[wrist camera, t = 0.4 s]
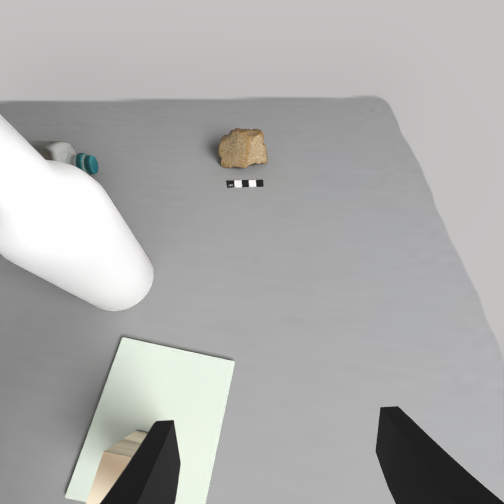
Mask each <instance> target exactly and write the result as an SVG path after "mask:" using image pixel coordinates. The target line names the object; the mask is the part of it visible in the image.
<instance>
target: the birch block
mask: <svg viewBox="0 0 504 504" xmlns="http://www.w3.org/2000/svg"><path fill="white" fill-rule="evenodd" d="M147 433H148V432H146V431H142V430H136V431H134V432H133V433H131V434H130V435H128V436H126V437H125V438H123V439H122V440H120V441H119V442H117V443H116V444H114V445H113V446H111V447H109V448H108V449H106V450H105V451H104V452H103V455H102V458H101V461H100V464H99V467H98V469H97V472H96V475H95V478H94V481H93V484H92V487H91V490H90V493H89V496H88V499H87V502H86V504H100V503H101V501H102V500H103V499H104V497H105V496H106V495H107V493H108V492H109V490H110V489H111V488H112V486H113V485H114V483H115V482H116V480H117V479H118V477H119V476H120V475H121V473H122V472H123V470H124V469H125V467H126V466H127V464H128V463H129V461H130V460H131V458H132V457H133V455H134V454H135V452H136V451H137V449H138V448H139V446H140V445H141V443H142V441H143V440H144V438H145V437H146V435H147Z"/></svg>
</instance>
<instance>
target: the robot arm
mask: <svg viewBox="0 0 504 504" xmlns="http://www.w3.org/2000/svg"><path fill="white" fill-rule="evenodd" d="M376 454H377V457H378V460H379V463H380V465H381V468H382V471H383V474H384V477H385V479H386V482H387V485H388V487H389V490H390V492H391V494H392V496H393V498H394V501H395V503H396V504H504V503H503V502H502V501H501V500H500V499H499V498H498V497H496V496H495V495H494V494H493V493H492V492H490V491H489V490H488V489H487V488H486V487H485V486H483V485H482V484H481V483H480V482H479V481H477V480H476V479H475V478H474V477H473V476H472V475H471V474H470V473H468V472H467V471H466V470H465V469H464V468H463V467H462V466H461V465H460V464H458V463H457V462H456V461H455V460H454V459H453V458H452V457H451V456H450V455H449V454H447V453H446V452H445V451H444V450H443V449H442V448H441V447H440V446H439V445H438V444H437V443H436V442H435V441H434V440H433V439H431V438H430V437H429V436H428V435H427V434H426V433H425V432H424V431H423V430H422V429H421V428H420V427H419V426H418V425H417V424H416V423H415V422H414V421H413V420H412V419H411V418H410V417H409V416H408V415H406V414H405V413H404V412H403V411H402V410H401V409H400V408H399V407H398V406H396V407H381V408H380V417H379V426H378V435H377V444H376ZM180 466H181V462H180V455H179V449H178V443H177V437H176V431H175V425H174V420H164V421H156V422H155V423H154V424H153V425H152V427H151V428H150V430H149V432H148V433H147V435H146V437H145V438H144V440H143V441H142V443H141V445H140V446H139V448H138V449H137V451H136V452H135V454H134V455H133V457H132V458H131V460H130V461H129V463H128V464H127V466H126V467H125V469H124V470H123V472H122V473H121V475H120V476H119V477H118V479H117V480H116V482H115V483H114V485H113V486H112V488H111V489H110V490H109V492H108V493H107V495H106V496H105V497H104V499H103V500H102V501H101V503H100V504H175V501H176V495H177V488H178V481H179V473H180Z"/></svg>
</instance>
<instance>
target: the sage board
mask: <svg viewBox="0 0 504 504" xmlns="http://www.w3.org/2000/svg"><path fill="white" fill-rule="evenodd" d="M234 364H235V361H230V360H226V359H221V358H216V357H212V356H207V355H203V354H198V353H193V352H189V351H184V350H179V349H175V348H170V347H166V346H161V345H156V344H152V343H147V342H143V341H138V340H133V339H129V338H124V337H122V340H121V343H120V345H119V348H118V351H117V354H116V356H115V359H114V362H113V365H112V368H111V370H110V373H109V376H108V379H107V381H106V384H105V387H104V390H103V393H102V395H101V398H100V401H99V404H98V406H97V409H96V412H95V415H94V418H93V420H92V423H91V426H90V429H89V432H88V434H87V437H86V440H85V443H84V445H83V448H82V451H81V454H80V457H79V459H78V462H77V465H76V468H75V470H74V473H73V476H72V479H71V482H70V484H69V487H68V490H67V493H66V495H65V498H68V499H73V500H78V501H82V502H87V499H88V496H89V493H90V490H91V487H92V484H93V481H94V478H95V475H96V472H97V469H98V467H99V464H100V461H101V458H102V455H103V452H104V451H105V450H106V449H108V448H109V447H111V446H113V445H114V444H116V443H117V442H119V441H120V440H122V439H123V438H125V437H126V436H128V435H130V434H131V433H133V432H134V431H136V430H142V431H146V432H149V430H150V428H151V427H152V425H153V424H154V423H155V422H156V421H164V420H174V425H175V431H176V437H177V443H178V449H179V455H180V462H181V466H180V473H179V481H178V488H177V495H176V501H175V504H205V503H206V498H207V493H208V488H209V484H210V479H211V474H212V469H213V464H214V460H215V455H216V450H217V445H218V440H219V436H220V431H221V426H222V421H223V416H224V412H225V407H226V402H227V397H228V392H229V388H230V383H231V378H232V373H233V368H234Z"/></svg>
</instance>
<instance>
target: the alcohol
mask: <svg viewBox="0 0 504 504" xmlns="http://www.w3.org/2000/svg"><path fill="white" fill-rule="evenodd" d="M0 254H1V255H2V256H3V257H4V258H6V259H7V260H9V261H11V262H12V263H14V264H16V265H18V266H20V267H22V268H24V269H26V270H27V271H29V272H31V273H33V274H35V275H37V276H39V277H41V278H43V279H45V280H46V281H48V282H50V283H52V284H54V285H56V286H58V287H60V288H62V289H63V290H65V291H67V292H69V293H71V294H73V295H75V296H77V297H79V298H80V299H82V300H84V301H86V302H88V303H90V304H92V305H94V306H96V307H97V308H100V309H103V310H106V311H121V310H125V309H128V308H130V307H132V306H134V305H136V304H137V303H139V302H140V301H141V300H142V299H143V298H144V297H145V296H146V294H147V293H148V292H149V290H150V288H151V286H152V282H153V275H154V272H153V266H152V264H151V262H150V260H149V258H148V257H147V255H146V254H145V252H144V250H143V249H142V247H141V246H140V244H139V243H138V241H137V240H136V238H135V236H134V235H133V233H132V232H131V230H130V229H129V227H128V226H127V224H126V223H125V221H124V219H123V218H122V216H121V215H120V213H119V212H118V210H117V209H116V207H115V205H114V204H113V202H112V201H111V199H110V198H109V196H108V195H107V193H106V192H105V190H104V189H103V188H102V186H101V185H100V184H99V183H98V182H97V181H95V180H94V179H93V178H92V177H91V176H89V175H88V174H87V173H85V172H84V171H83V170H81V169H79V168H77V167H75V166H73V165H70V164H67V163H63V162H58V161H51V160H45V159H44V158H43V157H42V156H41V155H40V154H39V153H38V152H37V151H36V150H35V149H34V148H33V147H32V146H31V145H30V144H29V143H28V142H27V141H26V140H25V139H24V138H23V137H22V136H21V135H20V134H19V133H18V132H17V131H16V130H15V129H14V128H13V127H12V126H11V125H10V124H9V123H8V122H7V121H6V120H5V119H4V118H3V117H2V116H1V115H0Z"/></svg>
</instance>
